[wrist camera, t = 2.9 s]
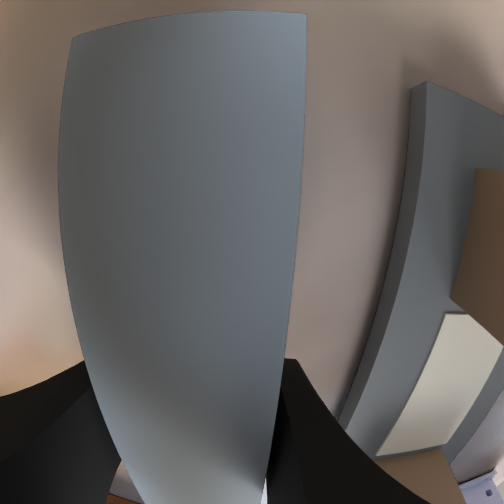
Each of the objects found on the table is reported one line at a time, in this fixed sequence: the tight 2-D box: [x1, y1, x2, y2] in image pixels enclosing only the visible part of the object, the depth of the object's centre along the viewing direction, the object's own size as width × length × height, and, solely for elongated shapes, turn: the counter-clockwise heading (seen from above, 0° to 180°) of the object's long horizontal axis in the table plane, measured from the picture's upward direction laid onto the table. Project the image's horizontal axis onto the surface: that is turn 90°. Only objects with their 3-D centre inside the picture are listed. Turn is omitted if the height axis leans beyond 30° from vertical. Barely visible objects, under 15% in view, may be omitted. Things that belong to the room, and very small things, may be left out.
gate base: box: [337, 81, 504, 504], centre depth 7 cm, size 8×20×5 cm, turn 174°
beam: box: [58, 11, 307, 504], centre depth 7 cm, size 4×16×4 cm, turn 178°
